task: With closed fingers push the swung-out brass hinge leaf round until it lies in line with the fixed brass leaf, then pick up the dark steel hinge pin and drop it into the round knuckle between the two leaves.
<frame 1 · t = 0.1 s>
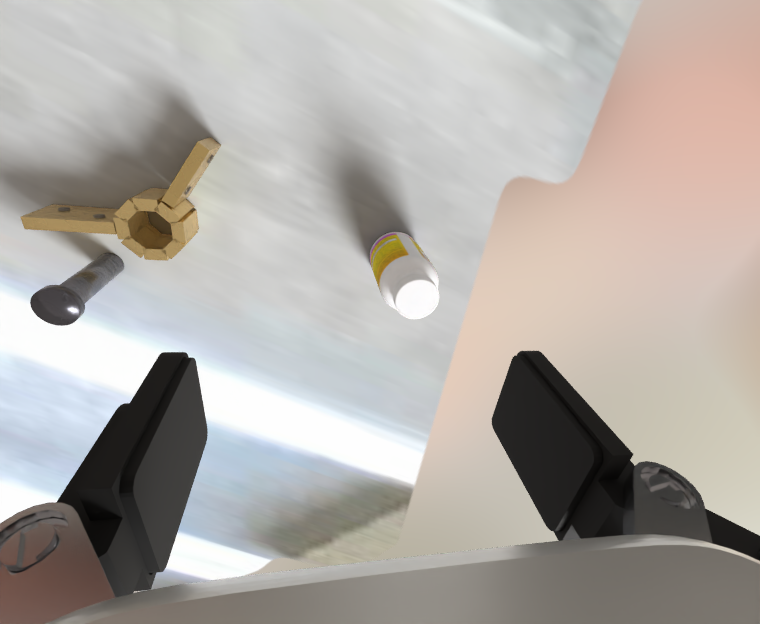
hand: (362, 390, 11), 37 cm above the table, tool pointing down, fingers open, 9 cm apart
hinge base: (167, 217, 42), on the table
loose leaf: (192, 171, 38), point 3 cm above the table, hinge at 55.0°
hinge pin: (111, 263, 43), on the table
supplement bottle: (393, 254, 49), on the table
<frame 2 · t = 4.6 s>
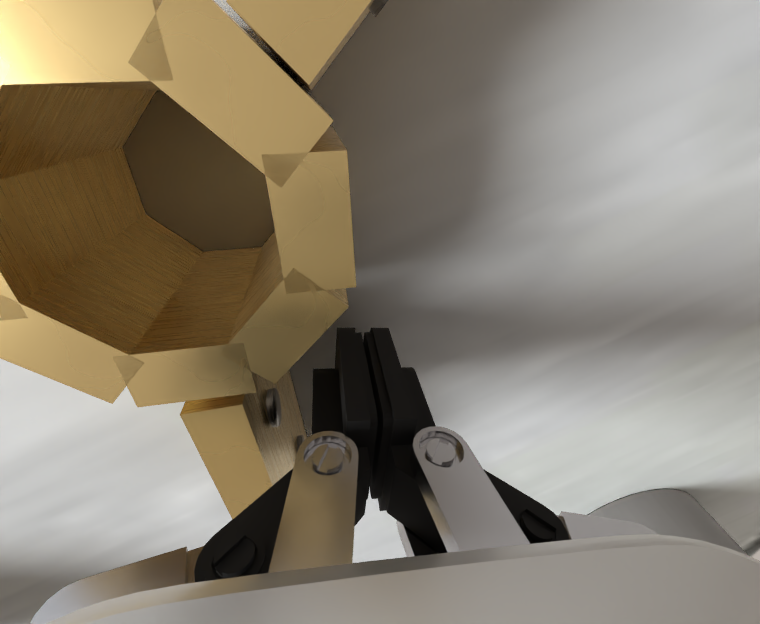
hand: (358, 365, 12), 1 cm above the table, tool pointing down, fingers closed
hinge base: (215, 177, 10), on the table
loose leaf: (266, 432, 11), point 2 cm above the table, hinge at 47.7°, touching gripper
coffee mug: (596, 539, 24), on the table
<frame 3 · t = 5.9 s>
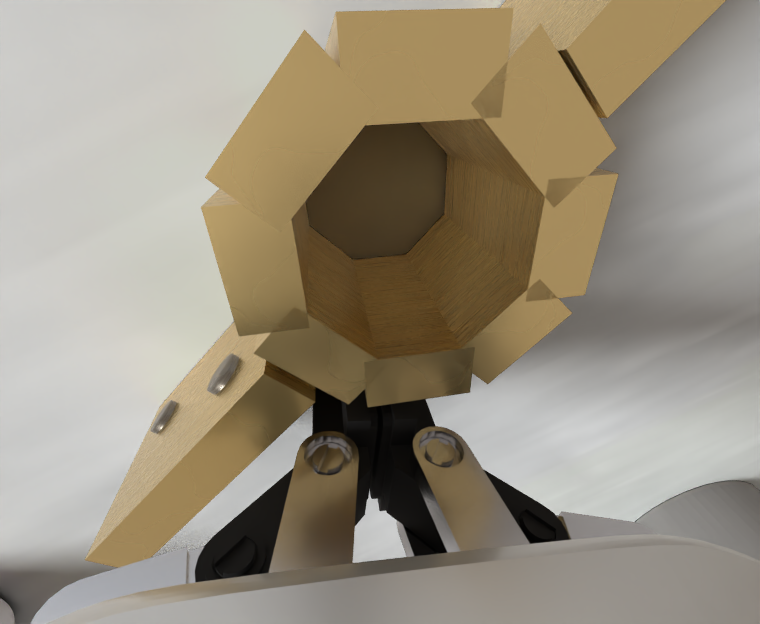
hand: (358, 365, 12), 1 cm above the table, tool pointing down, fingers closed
hinge base: (376, 190, 10), on the table
loose leaf: (215, 404, 10), point 2 cm above the table, hinge at -1.6°, touching gripper
coffee mug: (658, 530, 25), on the table
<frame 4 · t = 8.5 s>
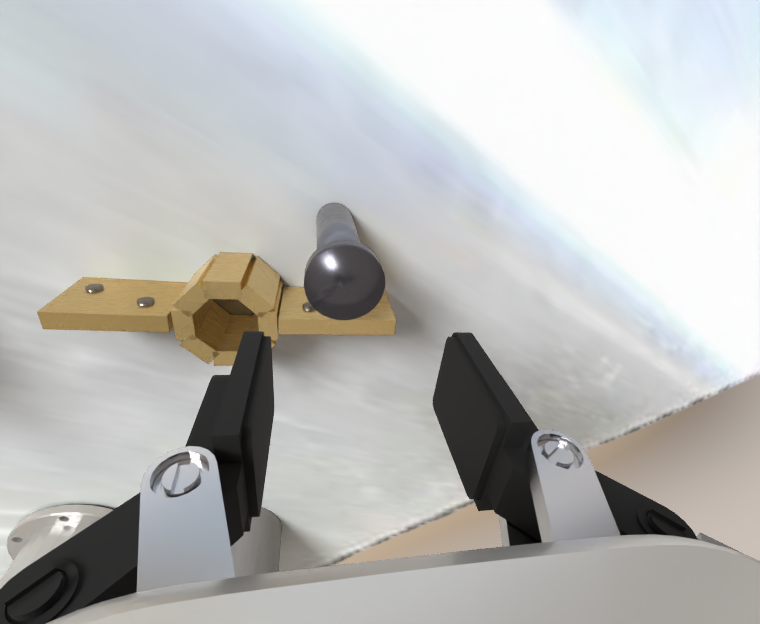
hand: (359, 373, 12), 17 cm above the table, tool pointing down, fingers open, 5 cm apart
hinge base: (240, 292, 28), on the table
loose leaf: (124, 303, 25), point 2 cm above the table, hinge at -1.6°
coffee mug: (224, 524, 42), on the table
hinge pin: (334, 220, 27), on the table
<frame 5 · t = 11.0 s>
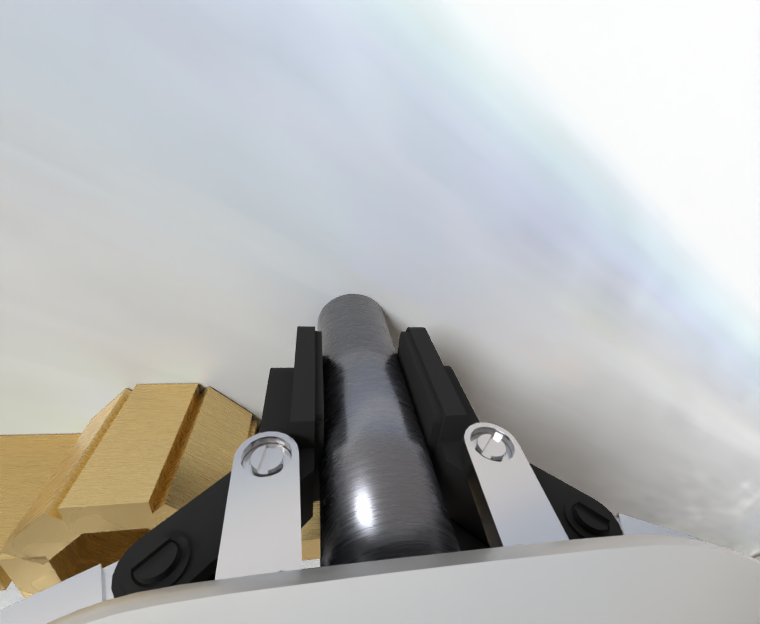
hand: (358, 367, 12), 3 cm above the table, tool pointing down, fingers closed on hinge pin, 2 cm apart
hinge base: (180, 441, 16), on the table
hinge pin: (351, 324, 14), on the table, touching gripper
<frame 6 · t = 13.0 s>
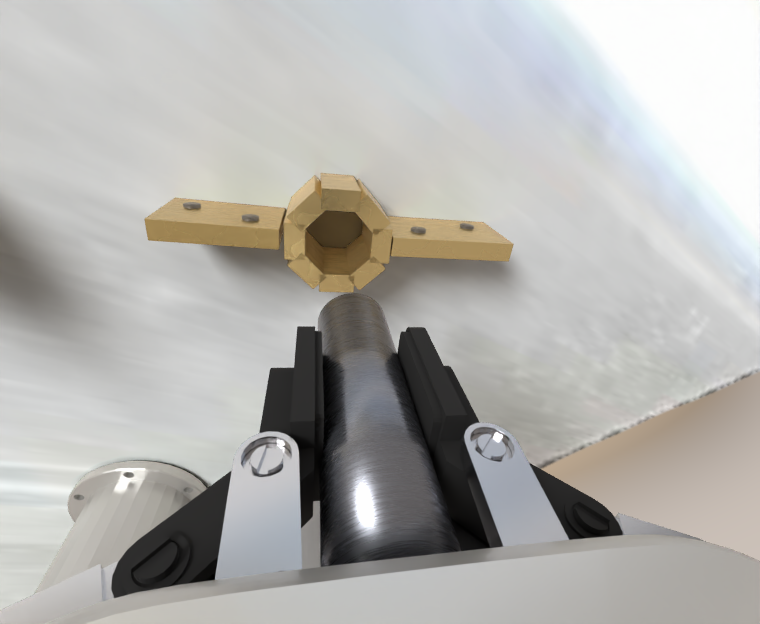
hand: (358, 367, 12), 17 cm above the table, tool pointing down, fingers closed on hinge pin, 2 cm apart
hinge base: (335, 221, 26), on the table
loose leaf: (224, 222, 23), point 2 cm above the table, hinge at -1.6°
coffee mug: (286, 488, 40), on the table
hinge pin: (351, 323, 14), point 14 cm above the table, touching gripper
when the fingers open (6 cm above the table, at t = 15.3 s): hinge pin stays where it is, resting in hinge base.
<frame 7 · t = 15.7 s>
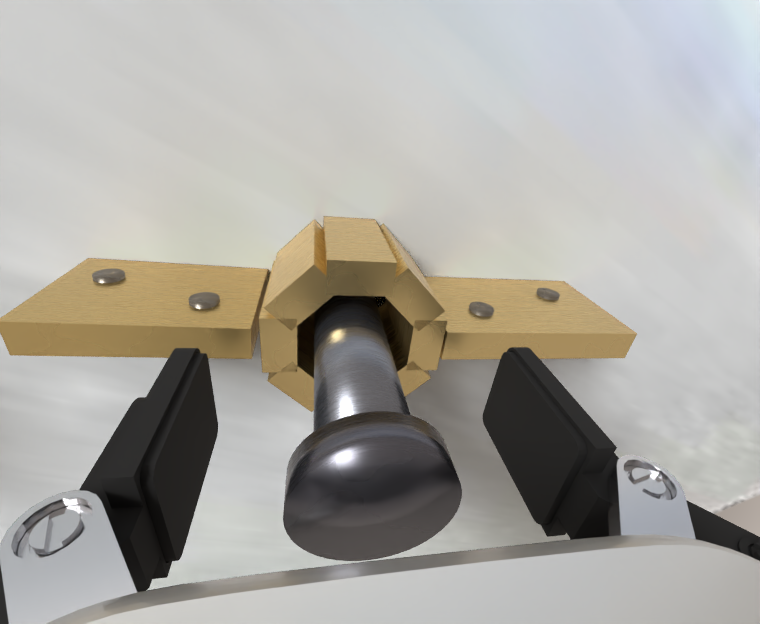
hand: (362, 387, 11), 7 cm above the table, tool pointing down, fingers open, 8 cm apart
hinge base: (345, 285, 17), on the table
loose leaf: (162, 304, 14), point 2 cm above the table, hinge at -1.6°
hinge pin: (342, 286, 17), resting in hinge base
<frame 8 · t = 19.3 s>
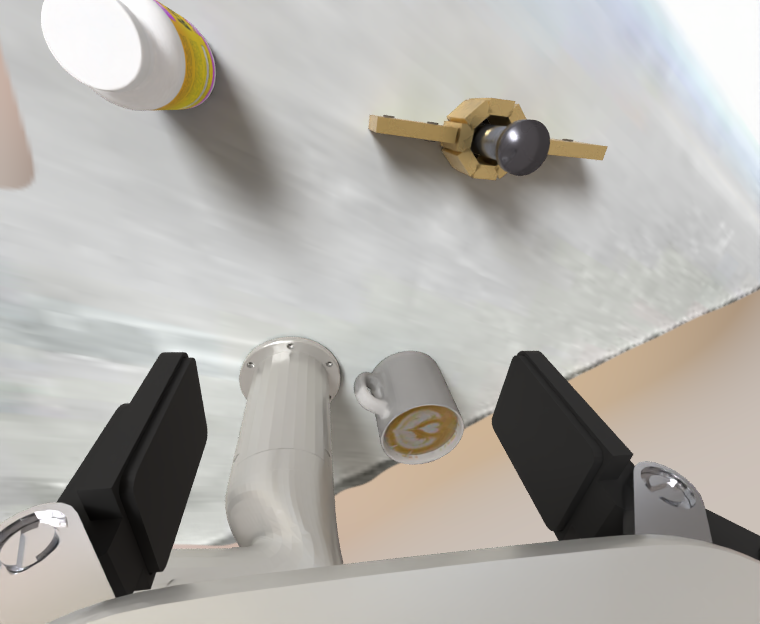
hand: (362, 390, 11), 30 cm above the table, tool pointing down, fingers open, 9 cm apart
hinge base: (472, 136, 37), on the table
loose leaf: (410, 128, 33), point 2 cm above the table, hinge at -1.6°
coffee mug: (396, 373, 50), on the table
hinge pin: (471, 137, 37), resting in hinge base
supplement bottle: (175, 63, 30), on the table
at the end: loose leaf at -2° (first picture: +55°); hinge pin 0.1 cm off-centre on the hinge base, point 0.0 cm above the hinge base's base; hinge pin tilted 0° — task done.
